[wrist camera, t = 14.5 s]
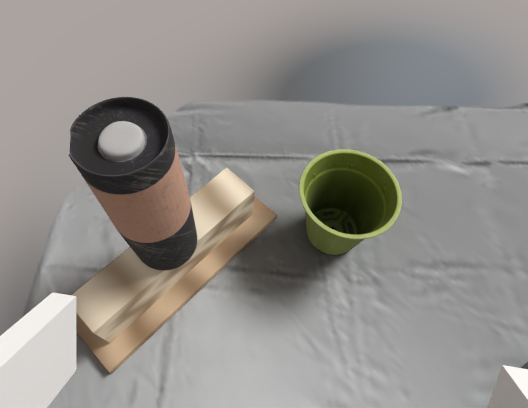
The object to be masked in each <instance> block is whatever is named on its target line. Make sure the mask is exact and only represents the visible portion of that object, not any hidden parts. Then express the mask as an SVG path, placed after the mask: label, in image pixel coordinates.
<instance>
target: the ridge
mask: <svg viewBox="0 0 528 408" xmlns="http://www.w3.org/2000/svg"><path fill="white" fill-rule="evenodd" d="M190 200H191V205H192V210H193V216H194V221H195V226H196V231H197V246H196V249H195V252H194V253H193V255H192V257H191V258H190V259H189V260H188V261H187V262H186V263H185V264H183V265H182V266H180V267H178V268H175V269H172V270H165V271H164V270H156V269H153V268H150V267H148V266H147V265H145V264H144V263H143V262H142V261H141V260H140V259H139V257H138V256H137V255H136V254H135V252H134V251H133V250H132V248H131V247H129V248H128V249H127V250H126V251H124V252H123V253H122V254H121V255H120V256H118V257H117V258H116V259H115V260H113V261H112V262H111V263H110V264H109V265H107V266H106V267H105V268H104V269H102V270H101V271H100V272H99V273H98V274H96V275H95V276H94V277H93V278H91V279H90V280H89V281H88V282H87V283H85V284H84V285H83V286H82V287H81V288H79V289H78V290H77V291H76V292H74V293H73V294H72V295H71V296H76V332H77V333H78V335H79V336H80V337H81V338H82V340H83V341H84V342H85V343H86V344H87V346H88V347H89V348H90V349H91V351H92V352H93V353H94V354H95V355H96V357H97V358H98V359H99V360H100V362H101V363H102V364H103V365H104V367H105V368H106V369H107V370H108V371H109V372H110V373H113V372H114V371H115V370H116V369H117V368H118V367H119V366H120V365H121V364H122V363H123V362H124V361H125V360H127V359H128V358H129V357H130V356H131V355H132V354H133V353H134V352H135V351H136V350H137V349H138V348H139V347H140V346H141V345H142V344H144V343H145V342H146V341H147V340H148V339H149V338H150V337H151V336H152V335H153V334H154V333H155V332H156V331H157V330H158V329H159V328H161V327H162V326H163V325H164V324H165V323H166V322H167V321H168V320H169V319H170V318H171V317H172V316H173V315H174V314H175V313H176V312H178V311H179V310H180V309H181V308H182V307H183V306H184V305H185V304H186V303H187V302H188V301H189V300H190V299H191V298H192V297H193V296H195V295H196V294H197V293H198V292H199V291H200V290H201V289H202V288H203V287H204V286H205V285H206V284H207V283H208V282H209V281H210V280H212V279H213V278H214V277H215V276H216V275H217V274H218V273H219V272H220V271H221V270H222V269H223V268H224V267H225V266H226V265H227V264H229V263H230V262H231V261H232V260H233V259H234V258H235V257H236V256H237V255H238V254H239V253H240V252H241V251H242V250H243V249H244V248H246V247H247V246H248V245H249V244H250V243H251V242H252V241H253V240H254V239H255V238H256V237H257V236H258V235H259V234H260V233H261V232H262V231H264V230H265V229H266V228H267V227H268V226H269V225H270V224H271V223H272V222H273V221H274V220H275V219H276V218H277V215H276V214H275V213H274V212H273V211H271V210H270V209H269V208H268V207H267V206H266V205H264V204H263V203H262V202H261V201H260V200H259V199H257V198H256V197H255V196H254V190H252V189H251V188H250V187H249V186H248V185H247V184H245V183H244V182H243V181H242V180H241V179H239V178H238V177H237V176H236V175H235V174H234V173H232V172H231V171H230V170H229V169H228V168H226V169H224V170H223V171H222V172H221V173H220V174H218V175H217V176H216V177H215V178H213V179H212V180H211V181H210V182H209V183H207V184H206V185H205V186H204V187H202V188H201V189H200V190H199V191H198V192H196V193H195V194H194V195H193V196H191V197H190Z"/></svg>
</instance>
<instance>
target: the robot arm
mask: <svg viewBox="0 0 528 408" xmlns="http://www.w3.org/2000/svg"><path fill="white" fill-rule="evenodd" d="M75 371H76V296H71V295H65V294H59V293H51V294H50V295H49V296H48V297H47V298H45V299H44V300H43V301H42V302H41V303H39V304H38V305H37V306H36V307H34V308H33V309H32V310H31V311H30V312H28V313H27V314H26V315H25V316H24V317H22V318H21V319H20V320H19V321H18V322H17V323H15V324H14V325H13V326H12V327H11V328H9V329H8V330H7V331H6V332H5V333H4V334H2V335H1V336H0V408H47V407H48V406H49V404H50V403H51V402H52V400H53V399H54V398H55V397H56V395H57V394H58V393H59V392H60V390H61V389H62V388H63V386H64V385H65V384H66V383H67V381H68V380H69V379H70V378H71V376H72V375H73V374H74V372H75ZM488 408H528V363H526V364H525V365H524V366H523V368H516V367H510V366H504V365H502V368H501V371H500V374H499V377H498V379H497V382H496V385H495V388H494V391H493V394H492V396H491V399H490V402H489V405H488Z"/></svg>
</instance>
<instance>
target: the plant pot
mask: <svg viewBox="0 0 528 408" xmlns="http://www.w3.org/2000/svg"><path fill="white" fill-rule="evenodd" d="M299 194H300V199H301V202H302V205H303V207H304V209H305V211H306V232H307V236H308V239H309V240H310V242H311V243H312V245H313V246H314V247H315V248H317V249H318V250H320V251H322V252H324V253H326V254H329V255H340V254H343V253H346V252H348V251H349V250H351V249H352V248H353V247H355V246H356V245H357V244H359V243H360V242H361V241H363V240H364V239H367V238H371V237H374V236H377V235H379V234H381V233H383V232H384V231H386V230H387V229H389V228H390V227H391V226H392V225H393V223H394V222H395V221H396V219H397V218H398V216H399V213H400V210H401V205H402V195H401V190H400V186H399V184H398V181H397V180H396V178H395V176H394V175H393V173H392V172H391V171H390V170H389V169H388V168H387V167H386V166H385V165H384V164H383V163H382V162H381V161H379V160H377V159H376V158H374V157H373V156H370V155H368V154H366V153H363V152H360V151H355V150H348V149H341V150H333V151H328V152H325V153H323V154H321V155H319V156H317V157H316V158H314V159H313V160H312V161H311V162H310V163H309V164H308V165H307V167H306V168H305V169H304V171H303V173H302V176H301V179H300V183H299ZM325 212H332V215H325V216H322V213H325ZM348 224H351V226H352V229H353V233H350V231H349V227H348ZM331 227H333V228H335V230H333V229H331Z"/></svg>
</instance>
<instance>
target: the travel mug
mask: <svg viewBox="0 0 528 408" xmlns="http://www.w3.org/2000/svg"><path fill="white" fill-rule="evenodd" d="M70 132H71V142H70V154H69V156H70V158H71V160H72V161H73V163H74V164H75V165H76V167H77V168H78V170H79V172H80V173H81V175H82V176H83V178H84V179H85V181H86V182H87V184H88V185H89V187H90V189H91V190H92V192H93V193H94V195H95V196H96V198H97V199H98V201H99V202H100V204H101V206H102V207H103V209H104V210H105V212H106V213H107V215H108V216H109V218H110V220H111V221H112V223H113V224H114V226H115V227H116V229H117V230H118V232H119V233H120V234H121V235H122V237H123V238H124V239H125V241H126V242H127V243H128V245H129V246H130V247H131V248H132V250H133V251H134V252H135V254H136V255H137V256H138V257H139V259H140V260H141V261H142V262H143V263H144V264H145V265H147V266H148V267H150V268H153V269H156V270H164V271H165V270H172V269H175V268H178V267H180V266H182V265H183V264H185V263H186V262H187V261H188V260H189V259H190V258H191V257H192V255H193V253H194V252H195V249H196V246H197V231H196V226H195V221H194V216H193V210H192V205H191V200H190V196H189V192H188V189H187V185H186V181H185V178H184V174H183V171H182V167H181V164H180V160H179V156H178V153H177V149H176V146H175V142H174V138H173V135H172V131H171V128H170V125H169V122H168V120H167V118H166V116H165V115H164V113H163V112H162V111H161V110H160V109H159V108H158V107H157V106H155V105H154V104H152V103H150V102H148V101H145V100H143V99H138V98H133V97H118V98H112V99H108V100H105V101H102V102H99V103H97V104H95V105H93V106H91V107H90V108H88V109H87V110H85V111H84V112H83V113H82V114H81V115H79V117H78V118H77V119H76V120H75V121H74V123H73V124H72V126H71V130H70Z"/></svg>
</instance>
